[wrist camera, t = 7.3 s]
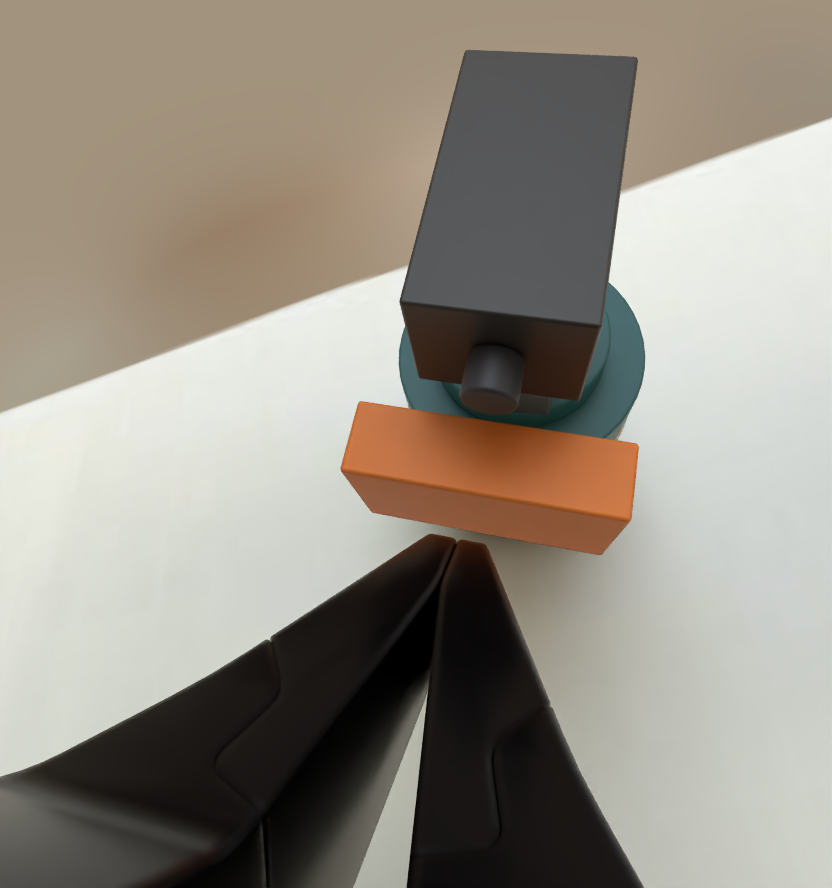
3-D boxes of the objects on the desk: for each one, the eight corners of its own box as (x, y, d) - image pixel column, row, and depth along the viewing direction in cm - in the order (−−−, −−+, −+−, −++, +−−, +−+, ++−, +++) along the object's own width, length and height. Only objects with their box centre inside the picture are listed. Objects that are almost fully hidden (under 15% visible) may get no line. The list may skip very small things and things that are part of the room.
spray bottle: (583, 582, 22) (749, 403, 8) (404, 547, 23) (260, 335, 9) (608, 390, 24) (767, -18, 10) (445, 367, 25) (382, -25, 11)
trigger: (601, 556, 13) (631, 522, 10) (370, 513, 14) (338, 470, 11) (609, 492, 13) (639, 442, 10) (385, 454, 14) (357, 398, 11)
